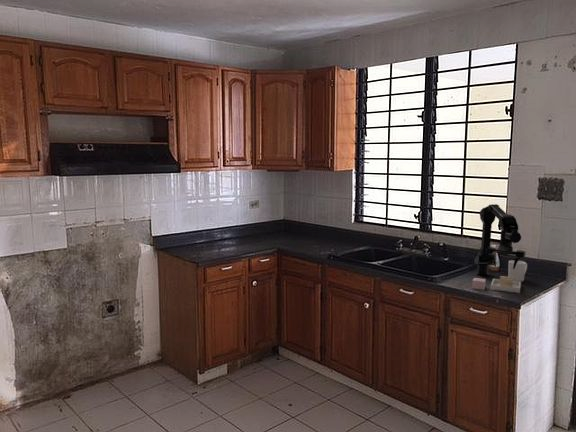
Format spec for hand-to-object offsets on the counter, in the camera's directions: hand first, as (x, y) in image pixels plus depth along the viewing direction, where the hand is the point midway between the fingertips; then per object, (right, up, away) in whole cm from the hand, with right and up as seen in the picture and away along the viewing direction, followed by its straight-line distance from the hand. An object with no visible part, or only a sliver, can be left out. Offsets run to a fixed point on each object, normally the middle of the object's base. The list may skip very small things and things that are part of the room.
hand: (504, 268), depth 255 cm
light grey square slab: (+1, -11, +2) cm, 11 cm away
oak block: (+1, -10, +1) cm, 11 cm away
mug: (+16, -9, +18) cm, 25 cm away
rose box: (-13, -11, +2) cm, 17 cm away
